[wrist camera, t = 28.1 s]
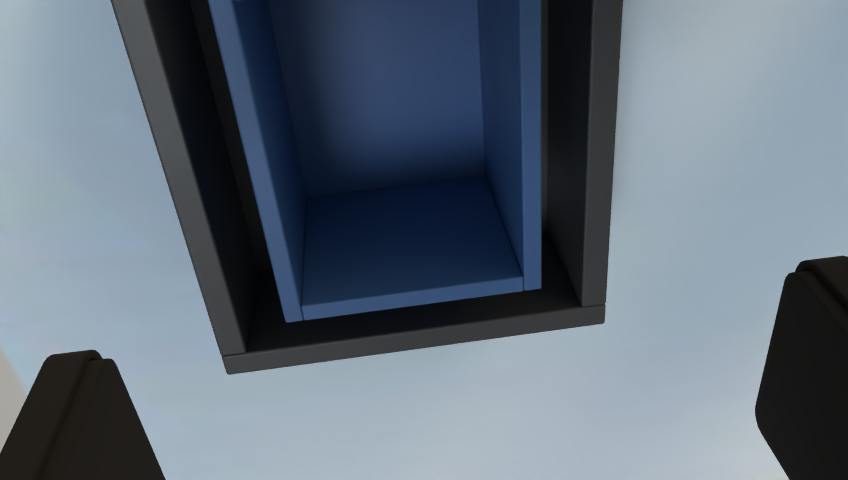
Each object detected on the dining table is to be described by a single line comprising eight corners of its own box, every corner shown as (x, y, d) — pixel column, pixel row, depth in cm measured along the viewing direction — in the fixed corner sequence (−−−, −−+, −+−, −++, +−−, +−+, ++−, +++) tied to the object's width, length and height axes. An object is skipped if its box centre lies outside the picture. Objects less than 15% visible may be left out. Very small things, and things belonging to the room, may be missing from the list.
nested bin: (236, -77, 21) (202, -20, 15) (486, -105, 21) (541, -59, 15) (295, 204, 26) (285, 323, 20) (497, 178, 26) (541, 289, 20)
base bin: (112, -207, 19) (47, -198, 15) (570, -254, 20) (638, -260, 15) (243, 278, 28) (226, 376, 23) (562, 236, 28) (605, 324, 24)
